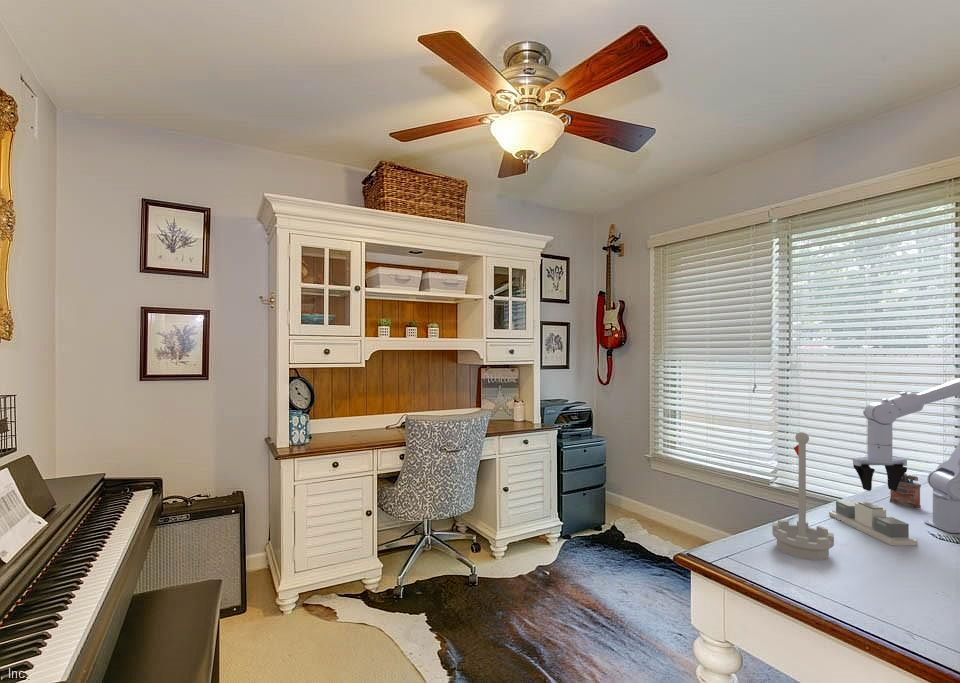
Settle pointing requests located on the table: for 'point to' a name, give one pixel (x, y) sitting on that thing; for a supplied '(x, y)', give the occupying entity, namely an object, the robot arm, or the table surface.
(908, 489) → the lighter
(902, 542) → the board
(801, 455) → the flag stand
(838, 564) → the table surface
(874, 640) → the table surface
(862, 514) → the module block
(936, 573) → the table surface
